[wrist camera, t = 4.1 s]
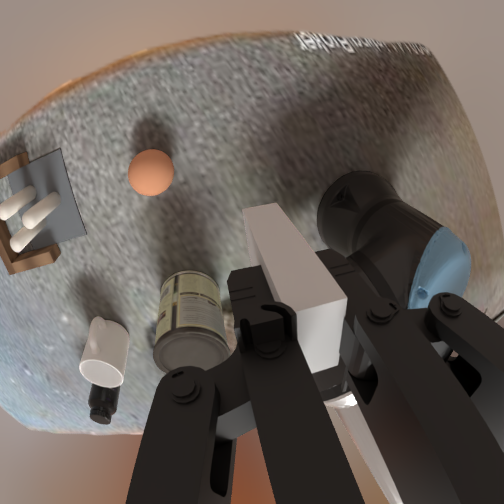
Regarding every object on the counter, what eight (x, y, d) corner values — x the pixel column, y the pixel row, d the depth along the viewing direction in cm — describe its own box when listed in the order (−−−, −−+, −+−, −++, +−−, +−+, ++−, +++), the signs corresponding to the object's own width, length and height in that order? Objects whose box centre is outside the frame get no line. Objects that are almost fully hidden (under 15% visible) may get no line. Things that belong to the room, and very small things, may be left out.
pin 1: (34, 182, 31) (5, 201, 24) (38, 196, 33) (10, 217, 25) (24, 187, 31) (-5, 206, 24) (28, 201, 32) (1, 222, 25)
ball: (171, 141, 34) (165, 147, 29) (179, 183, 37) (176, 195, 32) (129, 152, 33) (117, 160, 28) (139, 192, 36) (130, 207, 31)
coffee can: (215, 319, 50) (223, 381, 38) (159, 314, 47) (153, 377, 35) (225, 272, 45) (236, 335, 33) (162, 266, 42) (152, 328, 30)
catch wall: (26, 151, 29) (16, 155, 26) (60, 253, 38) (54, 262, 35) (-17, 177, 28) (-27, 182, 25) (17, 266, 37) (9, 275, 34)
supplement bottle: (118, 371, 53) (111, 415, 43) (123, 387, 56) (118, 428, 46) (91, 367, 51) (81, 410, 41) (97, 383, 54) (90, 424, 44)
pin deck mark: (60, 148, 30) (60, 149, 30) (86, 234, 37) (86, 234, 37) (7, 174, 29) (7, 175, 29) (34, 249, 36) (34, 250, 36)
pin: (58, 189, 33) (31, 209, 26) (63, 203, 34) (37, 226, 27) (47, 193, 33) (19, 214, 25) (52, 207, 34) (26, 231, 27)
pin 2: (43, 211, 34) (17, 235, 27) (48, 225, 35) (24, 250, 28) (34, 215, 34) (7, 239, 26) (38, 228, 35) (14, 254, 28)
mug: (81, 302, 43) (64, 342, 34) (121, 303, 44) (110, 345, 36) (98, 346, 49) (88, 385, 40) (134, 348, 50) (128, 389, 41)
